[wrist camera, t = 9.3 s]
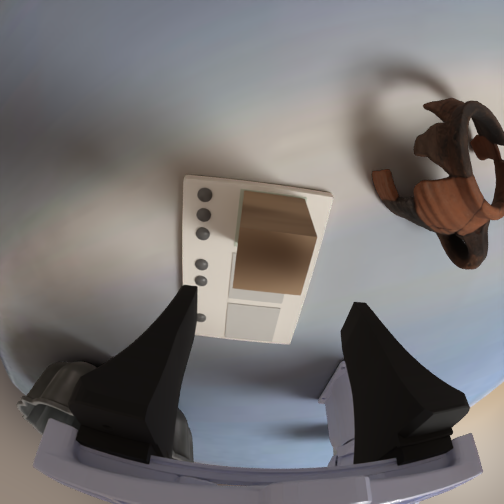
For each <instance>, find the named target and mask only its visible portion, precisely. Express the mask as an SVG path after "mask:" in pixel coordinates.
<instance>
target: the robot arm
mask: <svg viewBox="0 0 504 504" xmlns="http://www.w3.org/2000/svg"><path fill="white" fill-rule="evenodd" d="M197 300H198V286H191V285H183V286H182V287H181V288H180V290H179V291H178V293H177V294H176V296H175V297H174V298H173V300H172V301H171V302H170V304H169V305H168V306H167V308H166V309H165V310H164V311H163V312H162V314H161V315H160V316H159V317H158V318H157V319H156V320H155V321H154V323H153V324H152V325H151V326H150V327H149V328H148V329H147V330H146V331H145V332H144V333H143V334H142V335H141V336H140V337H139V338H138V339H136V340H135V341H134V342H133V343H132V344H131V345H129V346H128V347H127V348H126V349H124V350H123V351H122V352H120V353H119V354H118V355H116V356H115V357H113V358H112V359H110V360H109V361H107V362H106V363H104V364H103V365H101V366H99V367H98V368H96V369H94V370H92V371H90V372H88V373H86V374H85V375H83V376H80V378H79V380H78V382H77V383H76V385H75V387H74V389H73V391H72V394H71V396H70V399H69V401H68V408H69V409H70V411H71V413H72V414H73V415H74V416H75V418H76V419H77V420H78V421H79V423H80V424H81V425H80V428H79V431H78V430H77V429H76V428H74V427H72V426H70V425H67V424H64V423H62V422H59V421H57V420H54V419H52V418H50V419H48V422H47V425H46V427H45V430H44V433H43V436H42V439H41V442H40V445H39V448H38V450H37V453H36V457H35V460H34V463H33V467H34V468H35V469H37V470H38V471H40V472H42V473H43V474H45V475H46V476H48V477H50V478H51V479H53V480H55V481H57V482H58V483H61V484H63V485H65V486H67V487H70V488H72V489H75V490H77V491H80V492H82V493H85V494H87V495H90V496H93V497H96V498H98V499H101V500H104V501H107V502H110V503H113V504H419V503H420V501H422V500H425V499H428V498H431V497H434V496H436V495H439V494H442V493H444V492H447V491H449V490H451V489H454V488H456V487H458V486H460V485H462V484H464V483H466V482H467V481H469V480H471V479H473V478H475V477H477V476H478V475H480V474H482V473H483V469H482V466H481V462H480V459H479V455H478V452H477V448H476V445H475V442H474V438H473V435H472V433H469V434H466V435H463V436H460V437H457V438H455V439H453V440H451V438H450V435H452V434H453V430H452V427H453V426H454V425H455V424H456V423H458V422H459V421H460V420H461V419H462V418H463V417H464V416H465V415H466V414H467V413H468V411H469V409H470V407H469V404H468V402H467V399H466V396H465V394H464V393H463V392H461V391H459V390H457V389H455V388H454V387H452V386H450V385H448V384H447V383H445V382H444V381H442V380H441V379H439V378H438V377H436V376H435V375H434V374H432V373H431V372H430V371H429V370H427V369H426V368H425V367H424V366H422V365H421V364H420V363H419V362H418V361H417V360H416V359H415V358H414V357H412V356H411V355H410V354H409V353H408V352H407V351H406V350H405V349H404V348H403V346H402V345H401V344H400V343H399V342H398V341H397V340H396V339H395V338H394V336H393V335H392V334H391V333H390V332H389V331H388V329H387V328H386V327H385V326H384V325H383V323H382V322H381V321H380V320H379V318H378V317H377V316H376V315H375V313H374V312H373V311H372V310H371V309H370V307H369V306H368V305H367V304H366V303H361V302H354V303H353V305H352V308H351V310H350V312H349V314H348V317H347V319H346V321H345V323H344V325H343V327H342V329H341V342H342V350H343V355H344V359H345V361H342V362H341V363H340V364H339V366H338V368H337V369H336V371H335V373H334V375H333V376H332V378H331V380H330V381H329V383H328V385H327V386H326V388H325V390H324V391H323V393H322V394H321V396H320V398H319V399H318V403H320V404H325V406H326V414H327V422H328V430H329V438H330V442H331V444H332V446H333V447H334V449H335V450H336V451H337V455H334V456H333V457H332V458H331V460H330V462H329V464H328V467H321V468H300V469H261V468H241V467H228V466H217V465H208V464H200V463H193V462H186V461H180V460H174V459H172V452H173V442H174V433H175V424H176V417H177V409H178V402H179V396H180V390H181V384H182V380H183V376H184V372H185V369H186V365H187V362H188V358H189V355H190V351H191V348H192V344H193V340H194V336H195V330H196V324H197ZM217 484H228V485H241V486H217Z"/></svg>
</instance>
